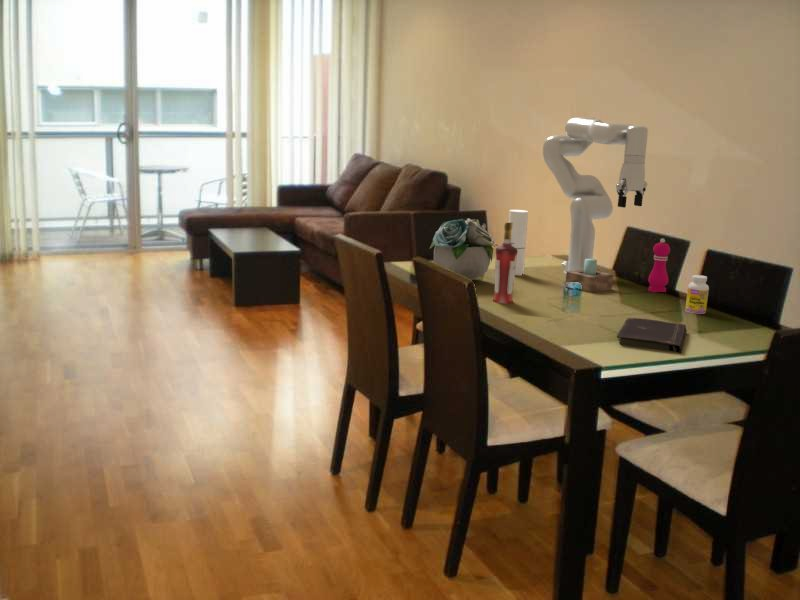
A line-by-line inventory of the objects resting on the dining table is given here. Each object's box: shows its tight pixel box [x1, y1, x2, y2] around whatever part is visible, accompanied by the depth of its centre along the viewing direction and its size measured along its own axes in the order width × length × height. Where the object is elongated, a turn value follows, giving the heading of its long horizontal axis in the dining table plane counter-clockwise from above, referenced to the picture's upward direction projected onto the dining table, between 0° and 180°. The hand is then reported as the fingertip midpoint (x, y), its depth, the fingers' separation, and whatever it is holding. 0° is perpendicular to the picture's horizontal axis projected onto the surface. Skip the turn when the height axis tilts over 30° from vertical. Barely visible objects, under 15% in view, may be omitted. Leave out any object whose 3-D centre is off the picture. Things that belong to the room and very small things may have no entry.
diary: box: [616, 317, 688, 354], centre depth 266 cm, size 19×25×5 cm
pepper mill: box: [647, 237, 671, 293], centre depth 337 cm, size 7×7×20 cm
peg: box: [583, 258, 598, 275], centre depth 337 cm, size 4×4×10 cm
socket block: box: [565, 269, 614, 293], centre depth 338 cm, size 12×12×6 cm
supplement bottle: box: [684, 274, 710, 315], centre depth 305 cm, size 7×7×13 cm
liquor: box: [492, 221, 518, 305], centre depth 304 cm, size 7×7×28 cm
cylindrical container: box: [508, 209, 529, 276], centre depth 357 cm, size 7×7×25 cm
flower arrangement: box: [429, 217, 499, 281], centre depth 336 cm, size 25×25×24 cm
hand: (629, 206), depth 339 cm, fingers open, 9 cm apart
